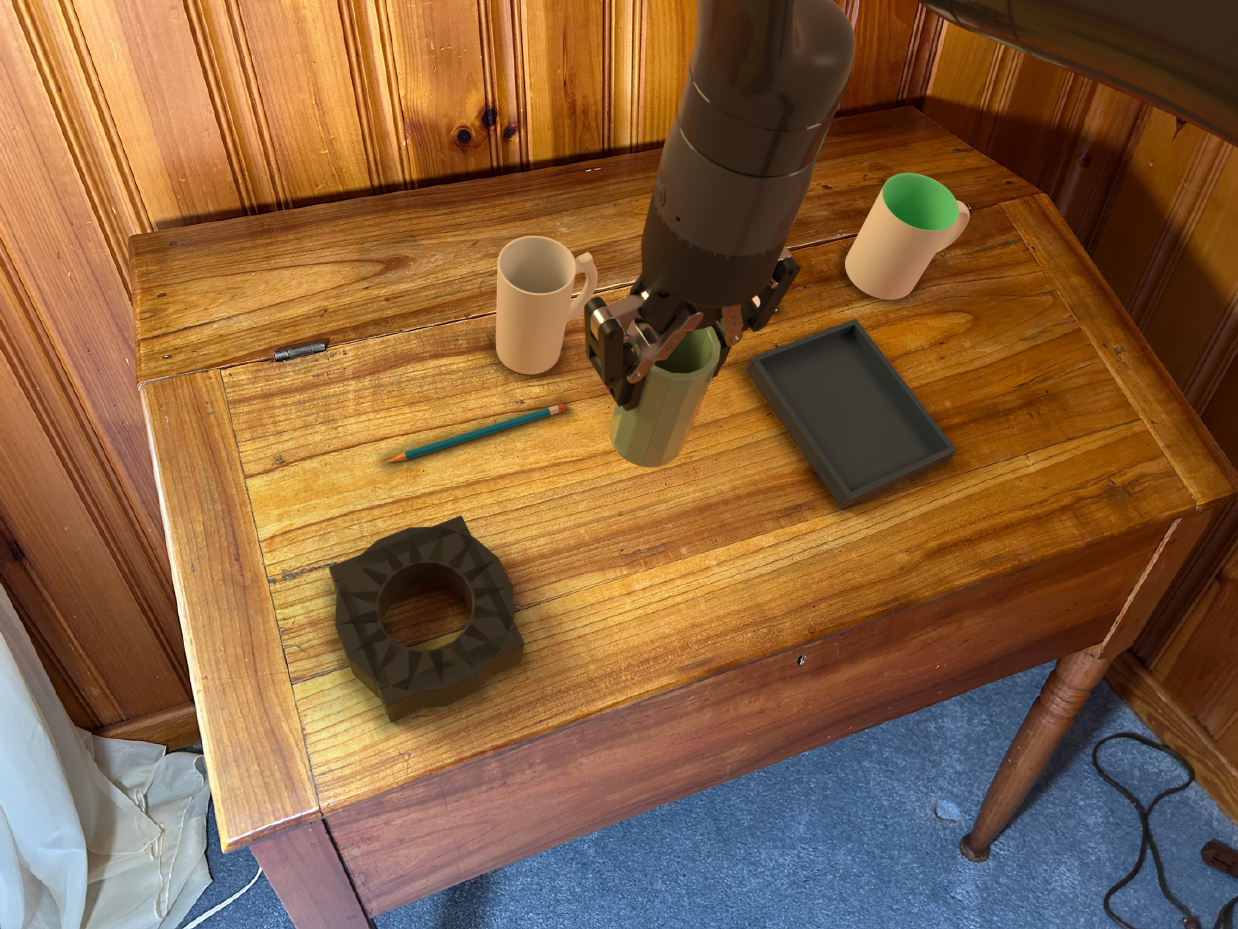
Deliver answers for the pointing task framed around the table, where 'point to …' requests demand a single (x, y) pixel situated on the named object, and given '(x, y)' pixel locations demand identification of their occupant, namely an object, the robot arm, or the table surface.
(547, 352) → the mug
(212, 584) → the table surface
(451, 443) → the pencil
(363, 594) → the dark brown carved ring
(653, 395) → the cup
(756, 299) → the coaster
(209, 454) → the table surface
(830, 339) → the tray
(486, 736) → the table surface
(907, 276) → the mug
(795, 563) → the table surface
